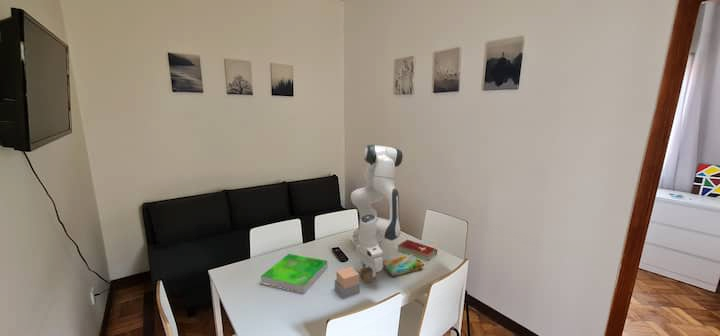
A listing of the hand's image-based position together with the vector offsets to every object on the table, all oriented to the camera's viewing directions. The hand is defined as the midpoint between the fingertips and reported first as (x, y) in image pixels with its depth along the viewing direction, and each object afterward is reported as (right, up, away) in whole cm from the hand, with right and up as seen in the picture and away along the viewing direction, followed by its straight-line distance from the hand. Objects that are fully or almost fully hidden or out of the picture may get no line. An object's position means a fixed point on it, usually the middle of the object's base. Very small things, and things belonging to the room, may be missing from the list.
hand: (368, 271), depth 152 cm
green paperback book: (-39, -4, +5) cm, 39 cm away
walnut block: (-1, -4, +1) cm, 4 cm away
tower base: (-11, -6, -9) cm, 15 cm away
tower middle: (-10, -1, -10) cm, 15 cm away
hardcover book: (+31, +1, +29) cm, 42 cm away
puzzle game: (+19, -3, +11) cm, 22 cm away
